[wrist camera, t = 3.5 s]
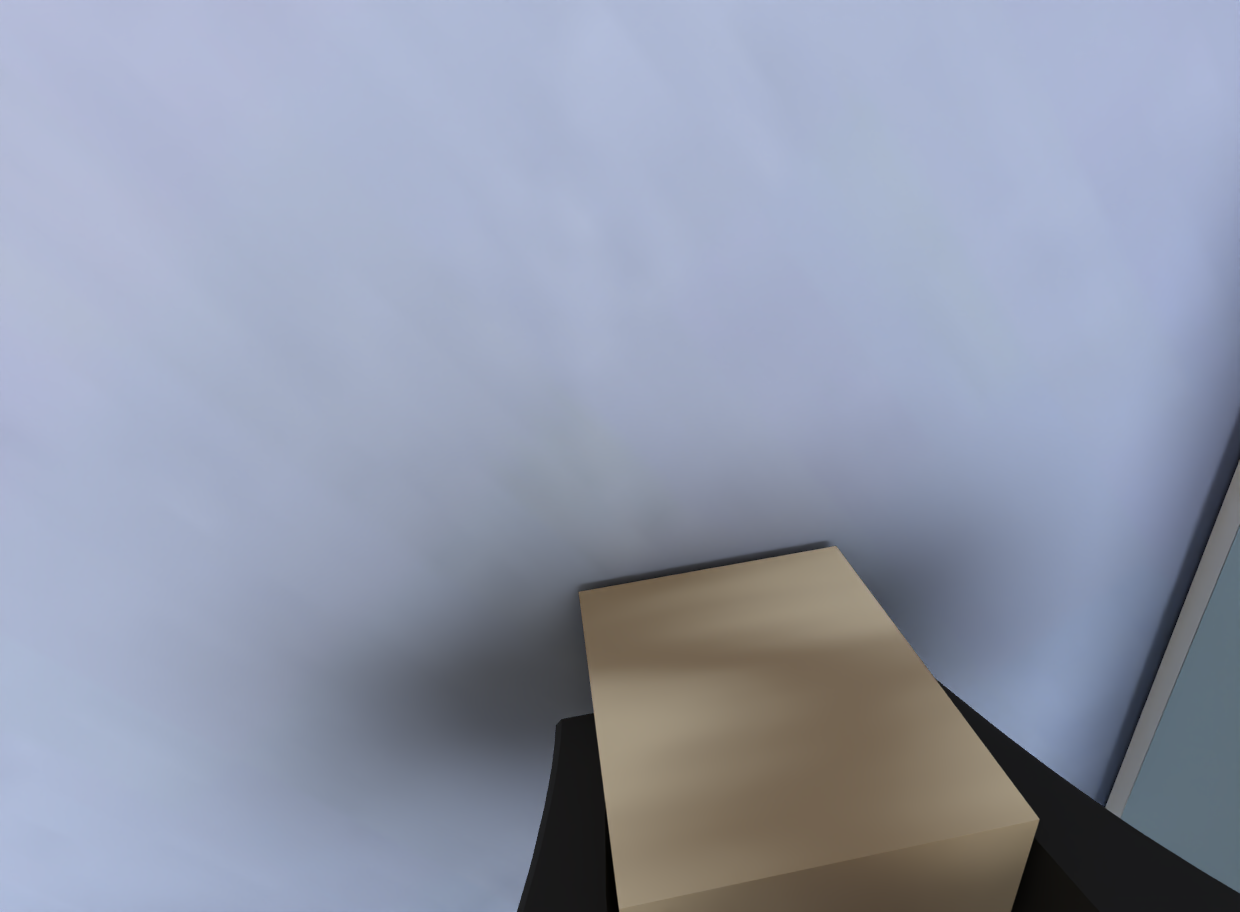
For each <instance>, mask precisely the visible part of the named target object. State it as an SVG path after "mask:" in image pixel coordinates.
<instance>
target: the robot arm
mask: <svg viewBox="0 0 1240 912" xmlns="http://www.w3.org/2000/svg"><path fill="white" fill-rule="evenodd" d="M936 681H937V682H938V683H939V685H940V686H941V687H942V689H943V690H944V691H945V693H946V694H947V696H948V697H949V698H950V700H951V701H952V702H953V704H954V705H955V706H956V708H957V709H958V710H959V712H960V713H961V714H962V716H963V717H964V718H965V720H966V721H967V722H968V724H969V725H970V726H971V728H972V729H973V730H974V732H975V733H976V734H977V736H978V737H979V739H980V740H981V741H982V743H983V744H984V745H985V747H986V748H987V749H988V751H989V752H990V753H991V755H992V756H993V757H994V759H995V760H996V761H997V763H998V764H999V765H1000V767H1001V768H1002V769H1003V771H1004V772H1005V773H1006V775H1007V776H1008V777H1009V779H1010V780H1011V782H1012V783H1013V784H1014V786H1015V787H1016V788H1017V790H1018V791H1019V792H1020V794H1021V795H1022V796H1023V798H1024V799H1025V800H1026V802H1027V803H1028V804H1029V806H1030V807H1031V808H1032V810H1033V811H1034V812H1035V814H1036V815H1037V816H1038V818H1039V819H1040V820H1039V823H1038V826H1037V829H1036V832H1035V836H1034V839H1033V842H1032V845H1031V849H1030V852H1029V855H1028V858H1027V861H1026V865H1025V868H1024V871H1023V874H1022V877H1021V881H1020V884H1019V887H1018V890H1017V894H1016V897H1015V900H1014V903H1013V906H1012V910H1011V912H1240V893H1239V892H1237V891H1235V890H1233V889H1232V888H1230V887H1228V886H1227V885H1225V884H1223V883H1222V882H1220V881H1218V880H1217V879H1215V878H1213V877H1212V876H1210V875H1208V874H1207V873H1205V872H1203V871H1202V870H1200V869H1198V868H1197V867H1195V866H1194V865H1192V864H1190V863H1189V862H1187V861H1186V860H1184V859H1183V858H1181V857H1179V856H1178V855H1176V854H1175V853H1173V852H1171V851H1170V850H1168V849H1167V848H1165V847H1163V846H1162V845H1160V844H1159V843H1157V842H1155V841H1154V840H1152V839H1151V838H1149V837H1148V836H1146V835H1144V834H1143V833H1141V832H1140V831H1138V830H1137V829H1135V828H1134V827H1132V826H1131V825H1129V824H1128V823H1126V822H1125V821H1123V820H1122V819H1121V818H1119V817H1118V816H1116V815H1115V814H1113V813H1112V812H1110V811H1109V810H1107V809H1106V808H1104V807H1103V806H1102V805H1100V804H1099V803H1097V802H1096V801H1094V800H1093V799H1092V798H1090V797H1089V796H1087V795H1086V794H1085V793H1083V792H1082V791H1080V790H1079V789H1077V788H1076V787H1075V786H1073V785H1072V784H1070V783H1069V782H1068V781H1066V780H1065V779H1064V778H1062V777H1061V776H1059V775H1058V774H1057V773H1055V772H1054V771H1053V770H1051V769H1050V768H1048V767H1047V766H1046V765H1044V764H1043V763H1042V762H1040V761H1039V760H1038V759H1037V758H1035V757H1034V756H1033V755H1031V754H1030V753H1029V752H1027V751H1026V750H1025V749H1023V748H1022V747H1021V746H1019V745H1018V744H1017V743H1016V742H1014V741H1013V740H1012V739H1010V738H1009V737H1008V736H1006V735H1005V734H1004V733H1002V732H1001V731H1000V730H999V729H997V728H996V727H995V726H994V725H992V724H991V723H990V722H988V721H987V720H986V719H985V718H983V717H982V716H981V715H980V714H978V713H977V712H976V711H975V710H973V709H972V708H971V707H970V706H968V705H967V704H966V703H965V702H964V701H962V700H961V699H960V698H959V697H957V696H956V695H955V694H954V693H952V692H951V691H950V690H949V689H948V688H946V687H945V686H944V685H943V684H941V683H940V682H939V681H938V680H937V679H936ZM517 912H619V905H618V898H617V890H616V882H615V874H614V866H613V858H612V850H611V843H610V835H609V827H608V819H607V811H606V803H605V795H604V788H603V780H602V772H601V764H600V756H599V748H598V741H597V733H596V725H595V717H594V713H592V714H586V715H581V716H576V717H571V718H566V719H562V720H561V721H560V722H559V723H558V724H557V725H556V732H555V746H554V754H553V762H552V769H551V775H550V781H549V786H548V791H547V797H546V802H545V807H544V811H543V816H542V820H541V824H540V828H539V832H538V837H537V841H536V845H535V849H534V854H533V858H532V861H531V865H530V869H529V873H528V876H527V879H526V883H525V886H524V890H523V893H522V897H521V900H520V903H519V907H518V910H517Z"/></svg>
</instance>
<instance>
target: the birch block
mask: <svg viewBox="0 0 1240 912" xmlns="http://www.w3.org/2000/svg"><path fill="white" fill-rule="evenodd" d="M579 599H580V607H581V615H582V623H583V631H584V638H585V646H586V654H587V662H588V670H589V678H590V686H591V693H592V701H593V709H594V717H595V725H596V733H597V741H598V748H599V756H600V764H601V772H602V780H603V788H604V795H605V803H606V811H607V819H608V827H609V835H610V843H611V850H612V858H613V866H614V874H615V882H616V890H617V898H618V905H619V912H1011V910H1012V906H1013V903H1014V900H1015V897H1016V894H1017V890H1018V887H1019V884H1020V881H1021V877H1022V874H1023V871H1024V868H1025V865H1026V861H1027V858H1028V855H1029V852H1030V849H1031V845H1032V842H1033V839H1034V836H1035V832H1036V829H1037V826H1038V823H1039V820H1040V819H1039V818H1038V816H1037V815H1036V814H1035V812H1034V811H1033V810H1032V808H1031V807H1030V806H1029V804H1028V803H1027V802H1026V800H1025V799H1024V798H1023V796H1022V795H1021V794H1020V792H1019V791H1018V790H1017V788H1016V787H1015V786H1014V784H1013V783H1012V782H1011V780H1010V779H1009V777H1008V776H1007V775H1006V773H1005V772H1004V771H1003V769H1002V768H1001V767H1000V765H999V764H998V763H997V761H996V760H995V759H994V757H993V756H992V755H991V753H990V752H989V751H988V749H987V748H986V747H985V745H984V744H983V743H982V741H981V740H980V739H979V737H978V736H977V734H976V733H975V732H974V730H973V729H972V728H971V726H970V725H969V724H968V722H967V721H966V720H965V718H964V717H963V716H962V714H961V713H960V712H959V710H958V709H957V708H956V706H955V705H954V704H953V702H952V701H951V700H950V698H949V697H948V696H947V694H946V693H945V691H944V690H943V689H942V687H941V686H940V685H939V683H938V682H937V681H936V679H935V678H934V677H933V675H932V674H931V673H930V671H929V670H928V669H927V667H926V666H925V665H924V663H923V662H922V661H921V659H920V658H919V657H918V655H917V654H916V653H915V651H914V650H913V648H912V647H911V646H910V644H909V643H908V642H907V640H906V639H905V638H904V636H903V635H902V634H901V632H900V631H899V630H898V628H897V627H896V626H895V624H894V623H893V622H892V620H891V619H890V618H889V616H888V615H887V614H886V612H885V611H884V610H883V608H882V607H881V605H880V604H879V603H878V601H877V600H876V599H875V597H874V596H873V595H872V593H871V592H870V591H869V589H868V588H867V587H866V585H865V584H864V583H863V581H862V580H861V579H860V577H859V576H858V575H857V573H856V572H855V571H854V569H853V568H852V567H851V565H850V564H849V562H848V561H847V560H846V558H845V557H844V556H843V554H842V553H841V552H840V550H839V549H838V548H837V546H833V547H828V548H822V549H816V550H811V551H805V552H800V553H794V554H788V555H783V556H777V557H771V558H766V559H760V560H755V561H749V562H743V563H738V564H732V565H726V566H721V567H715V568H710V569H704V570H698V571H693V572H687V573H682V574H676V575H670V576H665V577H659V578H653V579H648V580H642V581H637V582H631V583H625V584H620V585H614V586H608V587H603V588H597V589H592V590H586V591H580V592H579Z"/></svg>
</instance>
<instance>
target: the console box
mask: <svg viewBox="0 0 1240 912" xmlns="http://www.w3.org/2000/svg"><path fill="white" fill-rule="evenodd" d="M1239 527H1240V460H1239V463H1238V466H1237V468H1236V471H1235V473H1234V476H1233V479H1232V481H1231V484H1230V486H1229V489H1228V491H1227V494H1226V497H1225V499H1224V502H1223V504H1222V507H1221V510H1220V512H1219V515H1218V517H1217V520H1216V522H1215V525H1214V528H1213V530H1212V533H1211V535H1210V538H1209V541H1208V543H1207V546H1206V548H1205V551H1204V553H1203V556H1202V559H1201V561H1200V564H1199V566H1198V569H1197V572H1196V574H1195V577H1194V579H1193V582H1192V584H1191V587H1190V590H1189V592H1188V595H1187V597H1186V600H1185V603H1184V605H1183V608H1182V610H1181V613H1180V616H1179V618H1178V621H1177V623H1176V626H1175V628H1174V631H1173V634H1172V636H1171V639H1170V641H1169V644H1168V647H1167V649H1166V652H1165V654H1164V657H1163V659H1162V662H1161V665H1160V667H1159V670H1158V672H1157V675H1156V678H1155V680H1154V683H1153V685H1152V688H1151V690H1150V693H1149V696H1148V698H1147V701H1146V703H1145V706H1144V709H1143V711H1142V714H1141V716H1140V719H1139V722H1138V724H1137V727H1136V729H1135V732H1134V734H1133V737H1132V740H1131V742H1130V745H1129V747H1128V750H1127V753H1126V755H1125V758H1124V760H1123V763H1122V765H1121V768H1120V771H1119V773H1118V776H1117V778H1116V781H1115V784H1114V786H1113V789H1112V791H1111V794H1110V796H1109V799H1108V802H1107V804H1106V807H1105V808H1106V809H1107V810H1109V811H1110V812H1112V813H1113V814H1115V815H1116V816H1118V817H1119V818H1121V815H1122V813H1123V811H1124V808H1125V806H1126V803H1127V801H1128V798H1129V796H1130V793H1131V791H1132V789H1133V786H1134V784H1135V781H1136V779H1137V776H1138V774H1139V772H1140V769H1141V767H1142V764H1143V762H1144V759H1145V757H1146V754H1147V752H1148V750H1149V747H1150V745H1151V742H1152V740H1153V737H1154V735H1155V732H1156V730H1157V728H1158V725H1159V723H1160V720H1161V718H1162V715H1163V713H1164V710H1165V708H1166V706H1167V703H1168V701H1169V698H1170V696H1171V693H1172V691H1173V688H1174V686H1175V684H1176V681H1177V679H1178V676H1179V674H1180V671H1181V669H1182V667H1183V664H1184V662H1185V659H1186V657H1187V654H1188V652H1189V649H1190V647H1191V645H1192V642H1193V640H1194V637H1195V635H1196V632H1197V630H1198V627H1199V625H1200V623H1201V620H1202V618H1203V615H1204V613H1205V610H1206V608H1207V605H1208V603H1209V601H1210V598H1211V596H1212V593H1213V591H1214V588H1215V586H1216V583H1217V581H1218V579H1219V576H1220V574H1221V571H1222V569H1223V566H1224V564H1225V562H1226V559H1227V557H1228V554H1229V552H1230V549H1231V547H1232V544H1233V542H1234V540H1235V537H1236V535H1237V532H1238V530H1239Z"/></svg>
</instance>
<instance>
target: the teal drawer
mask: <svg viewBox="0 0 1240 912" xmlns="http://www.w3.org/2000/svg"><path fill="white" fill-rule="evenodd" d="M1121 819H1122V820H1123V821H1125V822H1126V823H1128V824H1129V825H1131V826H1132V827H1134V828H1135V829H1137V830H1138V831H1140V832H1141V833H1143V834H1144V835H1146V836H1148V837H1149V838H1151V839H1152V840H1154V841H1155V842H1157V843H1159V844H1160V845H1162V846H1163V847H1165V848H1167V849H1168V850H1170V851H1171V852H1173V853H1175V854H1176V855H1178V856H1179V857H1181V858H1183V859H1184V860H1186V861H1187V862H1189V863H1190V864H1192V865H1194V866H1195V867H1197V868H1198V869H1200V870H1202V871H1203V872H1205V873H1207V874H1208V875H1210V876H1212V877H1213V878H1215V879H1217V880H1218V881H1220V882H1222V883H1223V884H1225V885H1227V886H1228V887H1230V888H1232V889H1233V890H1235V891H1237V892H1239V893H1240V527H1239V530H1238V532H1237V535H1236V537H1235V540H1234V542H1233V544H1232V547H1231V549H1230V552H1229V554H1228V557H1227V559H1226V562H1225V564H1224V566H1223V569H1222V571H1221V574H1220V576H1219V579H1218V581H1217V583H1216V586H1215V588H1214V591H1213V593H1212V596H1211V598H1210V601H1209V603H1208V605H1207V608H1206V610H1205V613H1204V615H1203V618H1202V620H1201V623H1200V625H1199V627H1198V630H1197V632H1196V635H1195V637H1194V640H1193V642H1192V645H1191V647H1190V649H1189V652H1188V654H1187V657H1186V659H1185V662H1184V664H1183V667H1182V669H1181V671H1180V674H1179V676H1178V679H1177V681H1176V684H1175V686H1174V688H1173V691H1172V693H1171V696H1170V698H1169V701H1168V703H1167V706H1166V708H1165V710H1164V713H1163V715H1162V718H1161V720H1160V723H1159V725H1158V728H1157V730H1156V732H1155V735H1154V737H1153V740H1152V742H1151V745H1150V747H1149V750H1148V752H1147V754H1146V757H1145V759H1144V762H1143V764H1142V767H1141V769H1140V772H1139V774H1138V776H1137V779H1136V781H1135V784H1134V786H1133V789H1132V791H1131V793H1130V796H1129V798H1128V801H1127V803H1126V806H1125V808H1124V811H1123V813H1122V815H1121Z"/></svg>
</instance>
